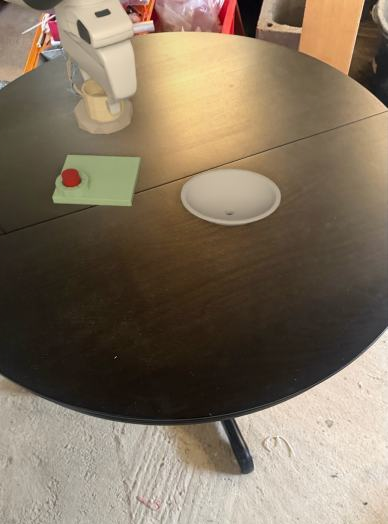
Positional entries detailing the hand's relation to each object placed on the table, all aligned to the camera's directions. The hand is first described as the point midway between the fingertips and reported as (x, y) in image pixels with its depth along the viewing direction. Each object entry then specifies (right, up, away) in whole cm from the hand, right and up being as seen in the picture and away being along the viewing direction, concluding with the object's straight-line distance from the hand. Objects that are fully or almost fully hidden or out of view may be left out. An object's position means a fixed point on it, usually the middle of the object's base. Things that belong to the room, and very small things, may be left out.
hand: (103, 100), depth 80 cm
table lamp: (-5, +9, +26) cm, 28 cm away
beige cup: (0, -1, +2) cm, 2 cm away
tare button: (-8, -10, +10) cm, 16 cm away
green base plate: (-3, -9, +14) cm, 17 cm away
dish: (+22, -17, +8) cm, 29 cm away
